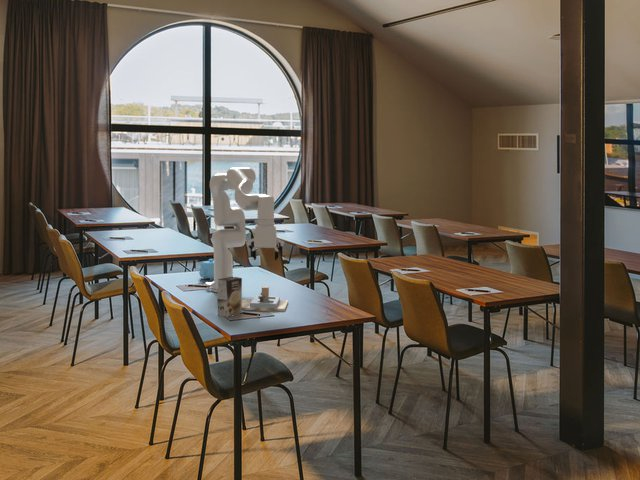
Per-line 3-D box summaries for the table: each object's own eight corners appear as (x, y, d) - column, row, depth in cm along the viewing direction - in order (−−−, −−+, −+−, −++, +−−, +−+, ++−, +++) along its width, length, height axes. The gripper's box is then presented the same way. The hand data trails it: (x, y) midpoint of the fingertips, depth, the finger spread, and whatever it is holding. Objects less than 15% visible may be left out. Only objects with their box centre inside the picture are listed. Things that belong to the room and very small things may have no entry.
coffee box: (228, 317, 304) (228, 280, 302) (217, 315, 307) (217, 279, 305) (242, 313, 311) (242, 277, 309) (231, 311, 315) (231, 276, 313)
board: (236, 310, 317) (236, 298, 316) (241, 302, 335) (241, 290, 334) (284, 311, 316) (284, 299, 316) (287, 302, 334) (288, 291, 334)
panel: (250, 307, 318) (250, 290, 317) (254, 300, 334) (254, 283, 333) (276, 308, 318) (276, 290, 317) (279, 300, 333) (279, 284, 332)
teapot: (224, 281, 389) (224, 260, 387) (199, 281, 386) (199, 261, 385) (223, 276, 403) (223, 256, 402) (198, 276, 401) (198, 257, 400)
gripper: (245, 223, 317) (245, 260, 320) (283, 223, 317) (283, 261, 319) (248, 221, 325) (247, 258, 327) (285, 222, 324) (284, 258, 327)
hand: (265, 259), depth 323 cm, fingers open, 9 cm apart
